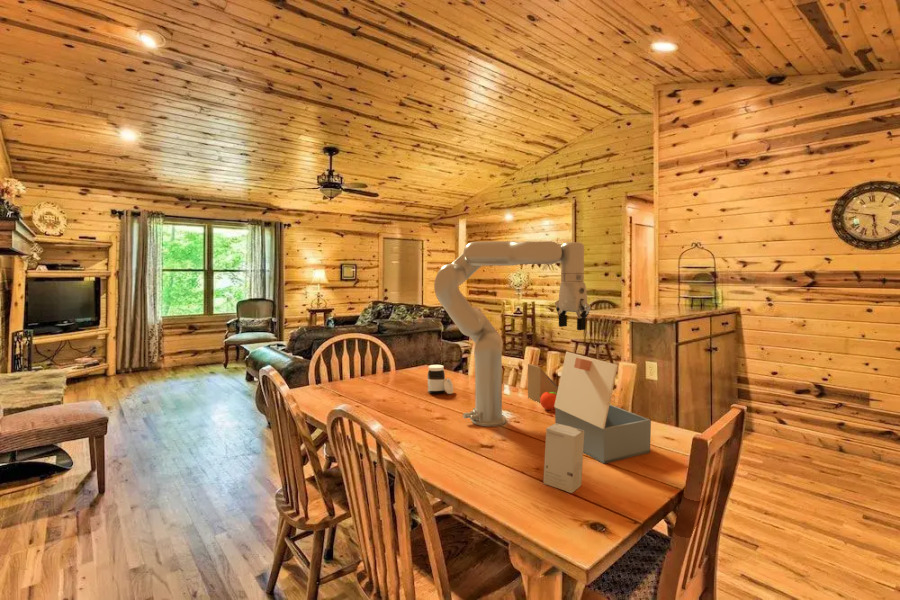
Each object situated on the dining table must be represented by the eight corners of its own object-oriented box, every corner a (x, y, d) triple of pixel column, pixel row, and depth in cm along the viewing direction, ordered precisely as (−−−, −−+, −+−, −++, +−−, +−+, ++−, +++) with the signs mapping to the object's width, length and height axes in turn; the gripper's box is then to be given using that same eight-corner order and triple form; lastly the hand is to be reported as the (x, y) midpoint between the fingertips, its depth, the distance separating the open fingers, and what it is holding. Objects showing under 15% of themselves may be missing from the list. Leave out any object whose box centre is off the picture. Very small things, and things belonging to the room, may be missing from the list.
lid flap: (604, 429, 127) (591, 427, 125) (555, 407, 147) (544, 405, 145) (618, 364, 128) (606, 362, 126) (567, 351, 148) (556, 349, 146)
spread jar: (427, 389, 207) (426, 364, 206) (451, 388, 209) (451, 363, 208) (428, 396, 195) (428, 370, 195) (454, 395, 197) (454, 369, 196)
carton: (603, 463, 128) (604, 429, 127) (555, 437, 148) (555, 407, 147) (650, 452, 136) (650, 419, 135) (598, 428, 156) (598, 400, 155)
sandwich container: (569, 398, 191) (569, 363, 190) (540, 403, 185) (540, 367, 183) (556, 393, 199) (556, 359, 198) (527, 398, 192) (527, 363, 191)
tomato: (559, 407, 180) (559, 389, 179) (562, 412, 173) (562, 394, 172) (539, 406, 180) (539, 389, 180) (540, 412, 174) (541, 394, 173)
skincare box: (543, 484, 117) (543, 428, 116) (554, 475, 121) (554, 421, 120) (573, 494, 111) (574, 435, 110) (584, 485, 116) (584, 428, 115)
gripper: (598, 279, 149) (597, 330, 150) (564, 277, 165) (564, 324, 166) (580, 279, 146) (579, 332, 147) (547, 278, 162) (547, 325, 163)
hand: (571, 328), depth 157 cm, fingers open, 9 cm apart
